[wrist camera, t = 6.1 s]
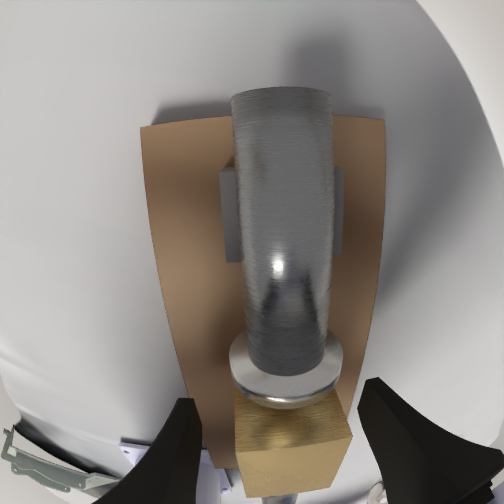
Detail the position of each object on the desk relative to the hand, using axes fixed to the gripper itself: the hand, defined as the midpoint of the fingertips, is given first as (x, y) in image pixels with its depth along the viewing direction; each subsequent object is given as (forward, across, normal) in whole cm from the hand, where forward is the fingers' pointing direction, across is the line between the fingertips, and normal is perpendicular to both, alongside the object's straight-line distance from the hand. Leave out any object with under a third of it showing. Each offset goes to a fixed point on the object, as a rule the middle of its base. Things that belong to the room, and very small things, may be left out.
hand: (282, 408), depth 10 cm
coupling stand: (+3, 0, 0) cm, 3 cm away
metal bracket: (+4, +26, +19) cm, 33 cm away
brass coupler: (+2, 0, +1) cm, 2 cm away
